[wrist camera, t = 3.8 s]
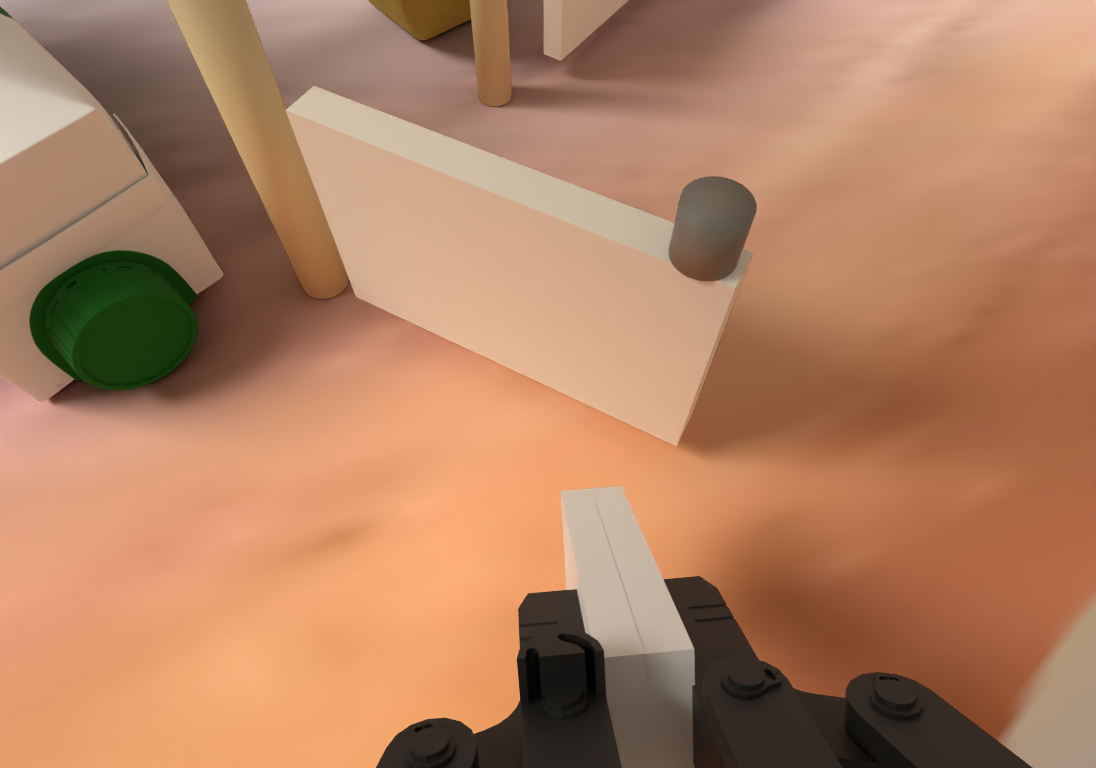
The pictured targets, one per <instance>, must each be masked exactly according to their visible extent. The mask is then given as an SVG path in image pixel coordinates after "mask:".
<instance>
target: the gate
mask: <svg viewBox="0 0 1096 768" xmlns="http://www.w3.org/2000/svg"><path fill="white" fill-rule="evenodd" d="M286 113H287V115H288V118H289V121H290V123H291V126H292V129H293V131H294V134H295V137H296V139H297V142H298V145H299V147H300V150H301V153H302V155H303V158H304V161H305V163H306V166H307V169H308V171H309V174H310V177H311V179H312V182H313V185H314V187H315V190H316V192H317V195H318V198H319V200H320V203H321V206H322V208H323V211H324V214H325V216H326V219H327V222H328V224H329V227H330V230H331V232H332V235H333V238H334V240H335V243H336V246H337V248H338V251H339V254H340V256H341V259H342V262H343V264H344V267H345V270H346V272H347V275H348V277H349V280H350V283H351V285H352V288H353V291H354V293H355V296H356V297H357V298H359V299H362V300H364V301H366V302H368V303H370V304H372V305H374V306H377V307H379V308H381V309H383V310H385V311H387V312H389V313H392V314H394V315H396V316H398V317H400V318H402V319H404V320H407V321H409V322H411V323H413V324H415V325H417V326H419V327H422V328H424V329H426V330H428V331H430V332H432V333H434V334H437V335H439V336H441V337H443V338H445V339H447V340H449V341H452V342H454V343H456V344H458V345H460V346H462V347H464V348H467V349H469V350H471V351H473V352H475V353H477V354H479V355H482V356H484V357H486V358H488V359H490V360H492V361H494V362H497V363H499V364H501V365H503V366H505V367H507V368H509V369H512V370H514V371H516V372H518V373H520V374H522V375H524V376H527V377H529V378H531V379H533V380H535V381H537V382H539V383H542V384H544V385H546V386H548V387H550V388H552V389H554V390H557V391H559V392H561V393H563V394H565V395H567V396H569V397H571V398H574V399H576V400H578V401H580V402H582V403H584V404H586V405H589V406H591V407H593V408H595V409H597V410H599V411H601V412H604V413H606V414H608V415H610V416H612V417H614V418H616V419H619V420H621V421H623V422H625V423H627V424H629V425H631V426H634V427H636V428H638V429H640V430H642V431H644V432H646V433H649V434H651V435H653V436H655V437H657V438H659V439H661V440H664V441H666V442H668V443H670V444H672V445H674V446H677V444H678V442H679V440H680V438H681V436H682V434H683V432H684V430H685V428H686V426H687V424H688V422H689V420H690V418H691V415H692V412H693V410H694V407H695V405H696V402H697V399H698V397H699V394H700V391H701V389H702V386H703V384H704V381H705V378H706V376H707V373H708V370H709V368H710V365H711V363H712V360H713V357H714V355H715V352H716V349H717V347H718V344H719V342H720V339H721V336H722V334H723V331H724V328H725V326H726V323H727V321H728V318H729V315H730V313H731V310H732V307H733V305H734V302H735V300H736V297H737V294H738V292H739V289H740V286H741V284H742V281H743V279H744V276H745V273H746V271H747V268H748V265H749V263H750V260H751V258H752V255H753V253H752V252H749V251H747V250H744V249H743V247H744V244H745V241H746V238H747V236H748V233H749V230H750V227H751V224H752V222H753V219H754V216H755V213H756V201H755V198H754V197H753V195H752V194H751V192H750V191H749V190H748V189H747V188H746V187H744V186H743V185H742V184H740V183H738V182H736V181H734V180H731V179H728V178H724V177H713V176H712V177H703V178H699V179H697V180H694V181H692V182H691V183H689V184H688V185H687V186H686V187H685V188H684V189H683V191H682V193H681V196H680V201H679V205H678V210H677V214H676V219H675V223H673V222H671V221H668V220H665V219H663V218H660V217H657V216H655V215H652V214H650V213H647V212H644V211H642V210H639V209H636V208H634V207H631V206H629V205H626V204H623V203H621V202H618V201H615V200H613V199H610V198H607V197H605V196H602V195H600V194H597V193H594V192H592V191H589V190H586V189H584V188H581V187H579V186H576V185H573V184H571V183H568V182H565V181H563V180H560V179H558V178H555V177H552V176H550V175H547V174H544V173H542V172H539V171H537V170H534V169H531V168H529V167H526V166H523V165H521V164H518V163H516V162H513V161H510V160H508V159H505V158H502V157H500V156H497V155H495V154H492V153H489V152H487V151H484V150H481V149H479V148H476V147H474V146H471V145H468V144H466V143H463V142H460V141H458V140H455V139H453V138H450V137H447V136H445V135H442V134H439V133H437V132H434V131H431V130H429V129H426V128H424V127H421V126H418V125H416V124H413V123H410V122H408V121H405V120H403V119H400V118H397V117H395V116H392V115H389V114H387V113H384V112H382V111H379V110H376V109H374V108H371V107H368V106H366V105H363V104H361V103H358V102H355V101H353V100H350V99H347V98H345V97H342V96H340V95H337V94H334V93H332V92H329V91H326V90H324V89H321V88H319V87H316V86H313V87H312V88H311V89H309V90H308V91H307V92H306V93H305V94H304V95H302V96H301V97H300V98H299V99H298V100H297V101H296V102H294V103H293V104H292V105H291V106H290V107H289V108H287V109H286Z"/></svg>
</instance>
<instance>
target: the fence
mask: <svg viewBox="0 0 1096 768" xmlns="http://www.w3.org/2000/svg"><path fill="white" fill-rule="evenodd" d="M469 1H470V11H471V22H472V32H473V43H474V54H475V64H476V75H477V85H478V96H479V100H480V101H481V102H482V103H483V104H485V105H488V106H501V105H504V104H506V103H508V102H509V101H510V100H511V97H512V89H511V67H510V46H509V25H508V4H507V0H469ZM627 1H628V0H544V54H545V55H547V56H550V57H552V58H555V59H557V60H559V61H562V60H563V59H564V58H565V57H566V56H567V55H568V54H569V53H570V52H572V51H573V50H574V49H575V48H576V47H577V46H578V45H579V44H581V43H582V42H583V41H584V40H585V39H586V38H587V37H588V36H589V35H591V34H592V33H593V32H594V31H595V30H596V29H597V28H598V27H599V26H601V25H602V24H603V23H604V22H605V21H606V20H607V19H608V18H610V17H611V16H612V15H613V14H614V13H615V12H616V11H617V10H618V9H620V8H621V7H622V6H623V5H624V4H625V3H626V2H627ZM167 2H168V4H169V6H170V8H171V10H172V12H173V15H174V17H175V19H176V21H177V23H178V25H179V27H180V29H181V32H182V34H183V36H184V38H185V40H186V42H187V44H188V46H189V48H190V51H191V53H192V55H193V57H194V59H195V61H196V63H197V65H198V67H199V70H200V72H201V74H202V76H203V78H204V80H205V82H206V84H207V86H208V89H209V91H210V93H211V95H212V97H213V99H214V101H215V103H216V105H217V108H218V110H219V112H220V114H221V116H222V118H223V120H224V122H225V124H226V127H227V129H228V131H229V133H230V135H231V137H232V139H233V141H234V143H235V146H236V148H237V150H238V152H239V154H240V156H241V158H242V160H243V162H244V165H245V167H246V169H247V171H248V173H249V175H250V177H251V179H252V181H253V184H254V186H255V188H256V190H257V192H258V194H259V196H260V198H261V201H262V203H263V205H264V207H265V209H266V211H267V213H268V215H269V217H270V220H271V222H272V224H273V226H274V228H275V230H276V232H277V234H278V236H279V239H280V241H281V243H282V245H283V247H284V249H285V251H286V253H287V255H288V258H289V260H290V262H291V264H292V266H293V268H294V270H295V272H296V274H297V277H298V279H299V281H300V283H301V285H302V287H303V289H304V291H305V293H306V294H307V295H309V296H311V297H313V298H316V299H328V298H332V297H334V296H336V295H338V294H340V293H341V292H342V291H343V290H344V289H345V288H346V286H347V285H348V281H349V277H348V275H347V272H346V270H345V267H344V264H343V262H342V259H341V256H340V254H339V251H338V248H337V246H336V243H335V240H334V238H333V235H332V232H331V230H330V227H329V224H328V222H327V219H326V216H325V214H324V211H323V208H322V206H321V203H320V200H319V198H318V195H317V192H316V190H315V187H314V185H313V182H312V179H311V177H310V174H309V171H308V169H307V166H306V163H305V161H304V158H303V155H302V153H301V150H300V147H299V145H298V142H297V139H296V137H295V134H294V131H293V129H292V126H291V123H290V121H289V118H288V115H287V113H286V107H285V104H284V102H283V99H282V96H281V94H280V91H279V88H278V86H277V83H276V80H275V78H274V75H273V72H272V70H271V67H270V64H269V62H268V59H267V56H266V54H265V51H264V48H263V46H262V43H261V40H260V38H259V35H258V32H257V30H256V27H255V24H254V22H253V19H252V16H251V14H250V11H249V8H248V6H247V3H246V0H167Z"/></svg>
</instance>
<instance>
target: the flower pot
mask: <svg viewBox="0 0 1096 768" xmlns="http://www.w3.org/2000/svg"><path fill="white" fill-rule="evenodd" d="M369 1H370V3H372V4H373V5H374V6H375V7H377V8H378V9H379V10H380V11H382V12H383V13H384V14H386V15H387V16H388V17H390V18H391V19H392V20H393V21H395V22H396V23H397V24H398V25H400V26H401V27H402V28H403V29H405V30H406V31H407V32H408V33H409V34H411V35H412V36H413V37H415V38H416V39H418V40H427V39H430V38H432V37H434V36H436V35H439V34H441V33H443V32H445V31H447V30H449V29H451V28H453V27H455V26H458V25H460V24H462V23H464V22H466V21H469V20H471V11H470V1H469V0H369Z"/></svg>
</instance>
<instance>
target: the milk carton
mask: <svg viewBox="0 0 1096 768" xmlns="http://www.w3.org/2000/svg"><path fill="white" fill-rule="evenodd" d="M113 116H114V117H115V118H116V120H117V121H118V122H119V124H120V125H121V127H122V128H123V129H124V131H125V132H126V133H127V135H128V136H129V137H130V139H131V140H132V142H133V144H134V145H135V147H136V149H137V151H138V153H139V155H140V157H141V159H142V160H141V159H140V158H139V156H138V155H137V153H136V152H135V150H134V149H133V148H132V146H131V145H130V143H129V142H128V141H127V139H126V138H125V136H124V135H123V133H122V132H121V131H120V129H119V128H118V126H117V125H116V124H115V122H114V121H113V119H112V118H111V117H110V115H109V114H108V113H107V112H106V110H105V109H104V108H103V107H102V106H101V104H100V103H99V102H98V101H97V100H96V99H95V98H94V97H93V96H92V94H91V93H90V92H89V91H88V90H87V89H86V88H85V87H84V86H83V85H82V84H81V83H80V82H79V81H78V80H77V79H75V78H74V77H73V76H72V75H71V74H70V73H69V72H68V71H67V70H66V69H65V68H64V67H63V66H62V65H61V64H60V63H59V62H58V61H57V60H56V59H55V58H54V57H53V56H52V55H51V54H50V53H49V52H48V51H46V50H45V49H44V48H43V47H42V46H41V45H40V44H39V43H38V42H37V41H36V40H35V39H34V38H33V37H32V36H31V35H30V34H29V33H28V32H27V31H26V30H25V29H24V28H23V27H22V26H21V25H19V24H18V23H17V22H16V21H15V20H14V19H13V18H12V17H11V16H10V15H9V14H8V13H7V12H6V11H5V10H4V9H2V8H1V7H0V377H1V378H3V379H5V380H6V381H8V382H10V383H11V384H13V385H14V386H16V387H18V388H19V389H21V390H23V391H24V392H26V393H27V394H29V395H31V396H32V397H34V398H35V399H37V400H39V401H45V400H47V399H49V398H50V397H52V396H53V395H54V394H56V393H57V392H59V391H60V390H61V389H62V388H64V387H65V386H66V385H68V384H69V383H70V382H71V381H73V380H74V379H75V380H77V381H79V380H81V379H82V380H83V381H85V382H87V383H88V384H90V385H92V386H95V387H98V388H101V389H106V390H128V389H134V388H138V387H142V386H145V385H147V384H150V383H152V382H155V381H157V380H159V379H161V378H162V377H164V376H166V375H167V374H169V373H170V372H171V371H173V370H174V369H175V368H176V367H178V366H179V365H180V364H181V363H182V362H183V360H184V359H185V358H186V357H187V355H188V354H189V353H190V351H191V349H192V347H193V345H194V343H195V340H196V337H197V332H198V324H197V319H196V316H195V314H194V312H193V310H192V309H191V308H190V305H189V304H190V303H191V302H192V301H194V300H195V299H197V298H198V295H197V294H198V293H200V292H201V291H203V290H204V289H206V288H207V287H209V286H210V285H212V284H214V283H215V282H216V281H218V280H219V279H220V278H222V276H223V272H222V270H221V269H220V267H219V266H218V264H217V263H216V261H215V260H214V258H213V257H212V255H211V253H210V252H209V250H208V248H207V247H206V245H205V243H204V242H203V240H202V238H201V237H200V235H199V233H198V232H197V230H196V228H195V227H194V225H193V224H192V222H191V220H190V219H189V217H188V216H187V214H186V212H185V211H184V209H183V208H182V206H181V205H180V203H179V202H178V200H177V199H176V197H175V196H174V195H173V193H172V192H171V190H170V189H169V187H168V186H167V184H166V183H165V182H164V180H163V179H162V177H161V176H160V175H159V173H158V172H157V171H156V169H155V168H154V166H153V165H152V163H151V162H150V160H149V159H148V157H147V156H146V154H145V153H144V151H143V150H142V148H141V147H140V146H139V144H138V143H137V141H136V140H135V139H134V137H133V136H132V135H131V133H130V132H129V131H128V129H127V128H126V127H125V125H124V124H123V123H122V122H121V120H120V119H119V118H118V117H117V116H116V115H115V114H113ZM142 161H143V162H142Z"/></svg>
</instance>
